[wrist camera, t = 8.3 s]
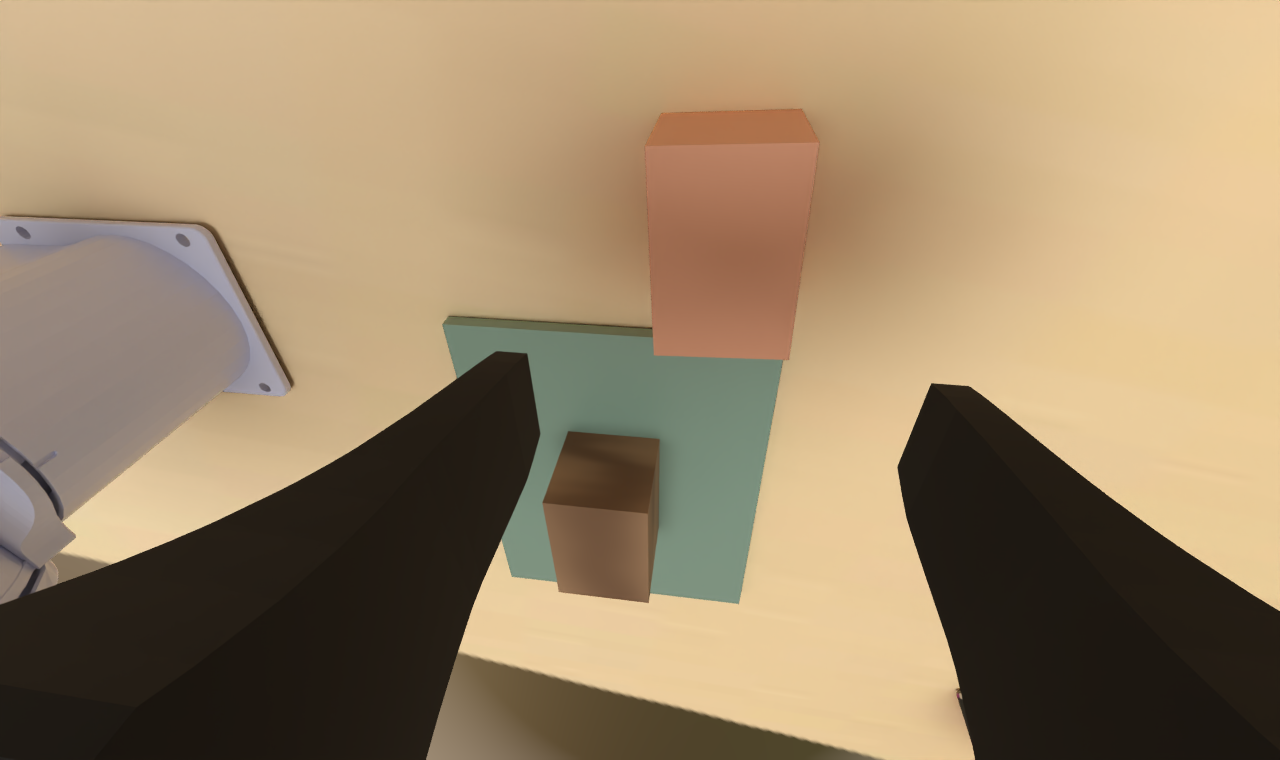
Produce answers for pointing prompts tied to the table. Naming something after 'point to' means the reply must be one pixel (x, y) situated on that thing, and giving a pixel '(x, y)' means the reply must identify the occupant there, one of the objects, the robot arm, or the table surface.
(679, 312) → the terracotta brick
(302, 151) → the table surface
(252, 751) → the robot arm
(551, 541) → the walnut brick
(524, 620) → the table surface
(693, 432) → the baseplate
